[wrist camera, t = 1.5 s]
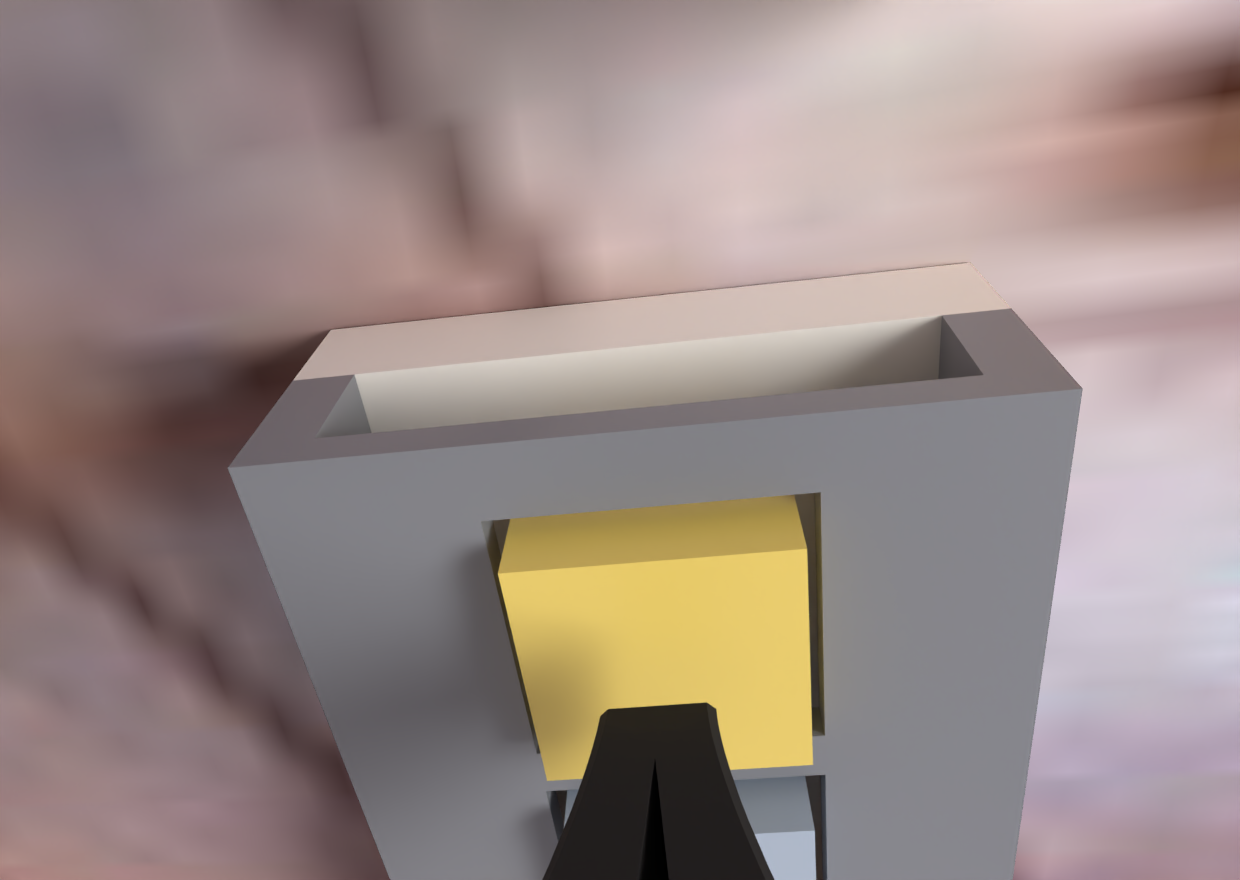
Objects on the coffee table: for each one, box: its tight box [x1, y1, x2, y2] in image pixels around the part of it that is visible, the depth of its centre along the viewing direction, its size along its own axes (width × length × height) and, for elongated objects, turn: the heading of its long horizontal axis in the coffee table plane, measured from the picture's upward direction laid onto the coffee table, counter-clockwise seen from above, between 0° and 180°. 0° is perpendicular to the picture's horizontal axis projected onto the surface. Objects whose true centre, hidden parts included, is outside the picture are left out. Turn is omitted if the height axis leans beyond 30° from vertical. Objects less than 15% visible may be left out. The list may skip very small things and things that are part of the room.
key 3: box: [564, 776, 816, 880], centre depth 16 cm, size 4×4×2 cm
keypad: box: [228, 263, 1082, 880], centre depth 20 cm, size 24×11×5 cm, turn 7°
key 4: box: [498, 495, 813, 781], centre depth 14 cm, size 4×4×2 cm
